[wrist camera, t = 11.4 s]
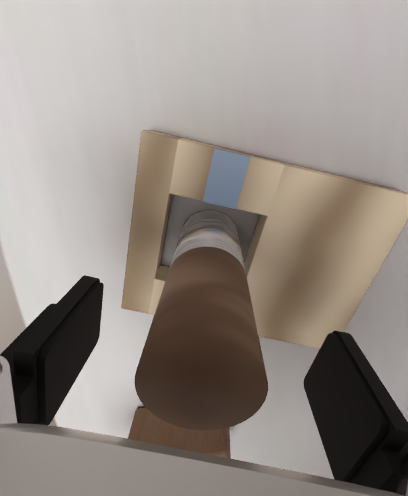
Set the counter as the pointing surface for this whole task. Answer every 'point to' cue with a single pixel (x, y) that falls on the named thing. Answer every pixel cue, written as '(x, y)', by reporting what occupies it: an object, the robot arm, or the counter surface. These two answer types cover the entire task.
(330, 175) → the board
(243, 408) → the two-tone cylinder
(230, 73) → the counter surface
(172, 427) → the wooden block
